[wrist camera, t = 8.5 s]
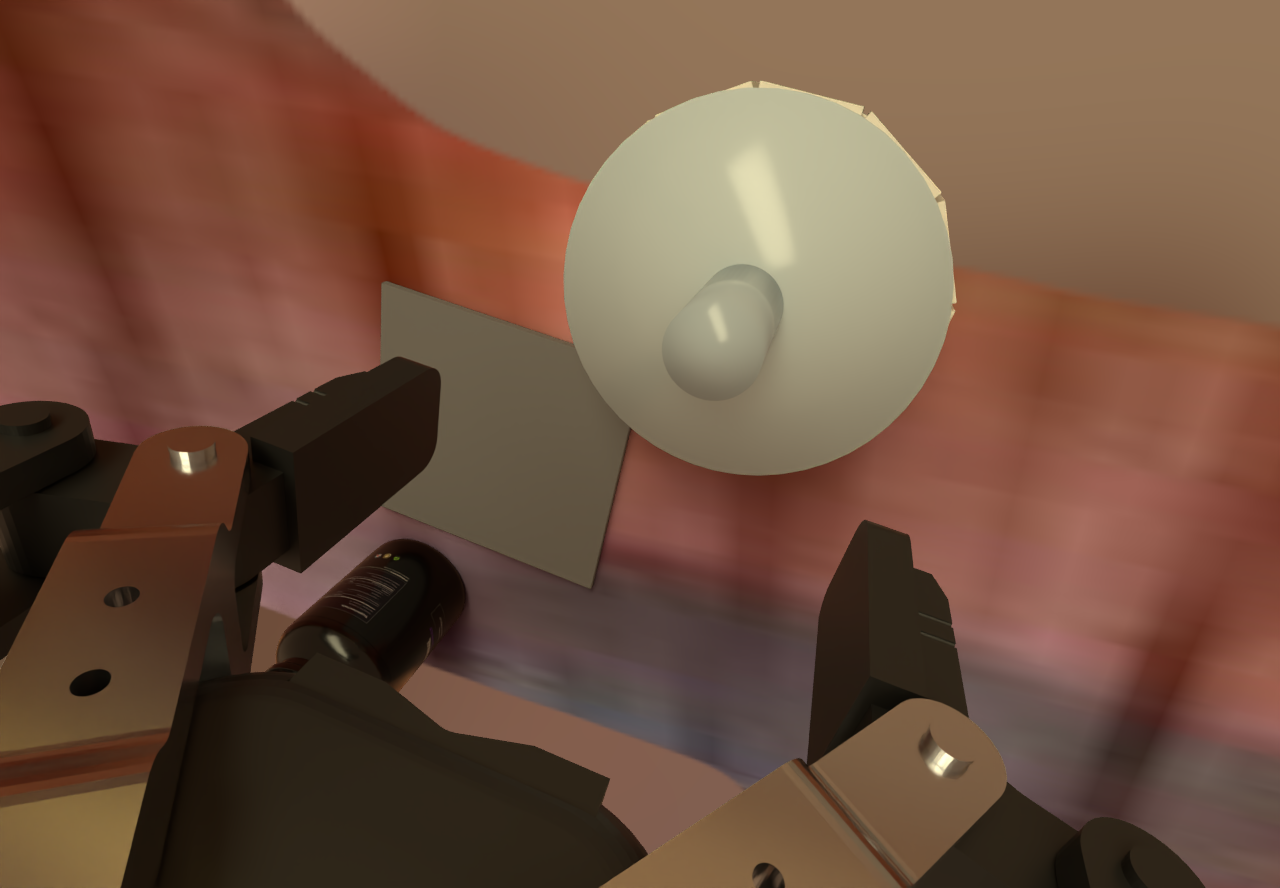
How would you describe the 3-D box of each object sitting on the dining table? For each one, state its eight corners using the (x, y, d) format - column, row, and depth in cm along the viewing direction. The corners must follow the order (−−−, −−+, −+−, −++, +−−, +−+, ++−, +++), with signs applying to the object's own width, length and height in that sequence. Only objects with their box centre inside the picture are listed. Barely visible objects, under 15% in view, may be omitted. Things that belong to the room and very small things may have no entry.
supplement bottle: (479, 627, 43) (357, 790, 32) (392, 614, 45) (251, 764, 35) (456, 538, 40) (313, 687, 29) (363, 529, 42) (200, 665, 32)
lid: (551, 401, 27) (478, 468, 22) (609, 43, 21) (525, 22, 16) (858, 508, 25) (855, 609, 20) (1030, 149, 19) (1091, 165, 14)
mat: (382, 501, 40) (378, 504, 40) (386, 281, 33) (381, 283, 33) (593, 584, 38) (590, 589, 38) (645, 367, 31) (643, 370, 31)
